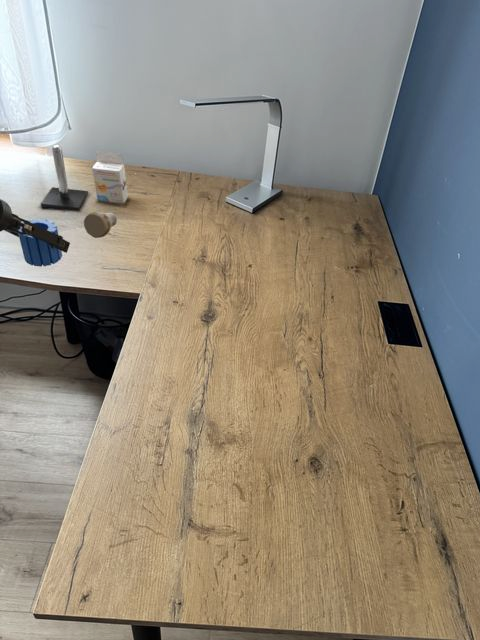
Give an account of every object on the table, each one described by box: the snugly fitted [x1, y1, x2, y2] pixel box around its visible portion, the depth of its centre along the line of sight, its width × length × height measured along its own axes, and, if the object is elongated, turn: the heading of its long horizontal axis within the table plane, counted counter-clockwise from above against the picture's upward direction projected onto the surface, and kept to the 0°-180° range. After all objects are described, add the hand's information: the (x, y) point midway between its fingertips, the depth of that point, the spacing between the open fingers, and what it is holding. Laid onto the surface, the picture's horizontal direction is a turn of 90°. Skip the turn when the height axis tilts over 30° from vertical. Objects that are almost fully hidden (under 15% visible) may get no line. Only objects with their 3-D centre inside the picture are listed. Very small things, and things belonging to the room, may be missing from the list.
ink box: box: [91, 151, 129, 204], centre depth 153 cm, size 8×5×15 cm, turn 84°
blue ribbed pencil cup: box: [18, 218, 63, 268], centre depth 128 cm, size 9×9×10 cm
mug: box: [83, 211, 118, 239], centre depth 143 cm, size 8×10×10 cm
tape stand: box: [40, 144, 89, 211], centre depth 149 cm, size 11×11×17 cm
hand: (44, 240), depth 129 cm, fingers open, 13 cm apart
